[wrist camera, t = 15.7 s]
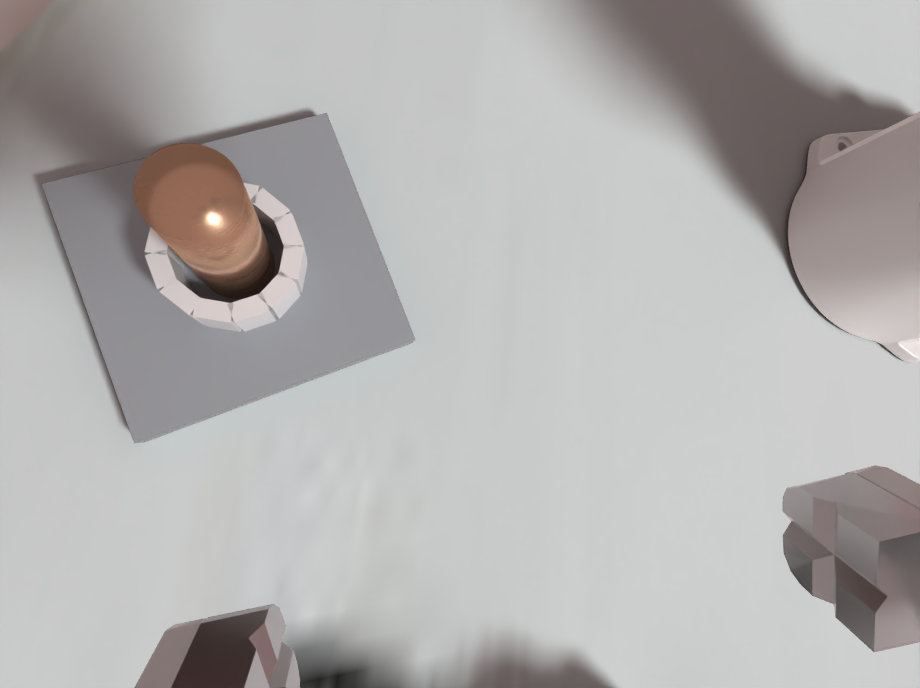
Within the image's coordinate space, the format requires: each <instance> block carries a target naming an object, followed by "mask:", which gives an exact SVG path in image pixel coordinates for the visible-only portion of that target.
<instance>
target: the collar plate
mask: <svg viewBox="0 0 920 688" xmlns="http://www.w3.org/2000/svg"><path fill="white" fill-rule="evenodd" d="M200 145H204V146H208V147H210V148H212V149H215V150H217V151H218V152H220V153H222V154H223V155H224V156H226V157H227V158H228V159H229V160H230V161H231V162H232V163H233V164H234V166H235V167H236V169H237V170H238V172H239V174H240V176H241V178H242V181H243V183H244V186H245V188H246V190H247V193H248V195H249V198H250V200H251V203H252V205H253V207H254V210H255V212H256V215H257V217H258V220H259V222H260V224H261V227H262V229H263V232H264V234H265V237H266V239H267V241H268V244H269V246H270V249H271V251H272V254H273V257H274V262H275V268H274V273H273V277H272V279H271V281H270V282H269V284H268V285H267V286H266V287H265V288H264V289H263V290H262V291H261V292H259V293H258V294H256V295H254V296H251V297H248V298H242V299H233V298H227V297H224V296H221V295H219V294H218V293H216V292H215V291H213V290H212V289H211V288H210V287H209V286H208V285H207V284H206V283H205V282H204V281H203V280H202V279H201V278H200V277H199V276H198V275H197V274H196V273H195V272H194V271H193V270H192V269H191V268H190V267H189V266H188V265H187V264H186V263H185V262H184V261H183V260H182V258H181V257H180V256H179V255H178V254H177V253H176V252H175V251H174V250H173V249H172V248H171V247H170V246H169V245H168V244H167V243H166V242H165V241H164V240H163V239H162V238H161V237H160V236H159V235H158V234H157V233H156V232H155V231H154V230H153V229H152V228H151V227H150V226H149V225H148V224H147V222H146V221H145V220H144V219H143V218H142V216H141V215H140V213H139V212H138V209H137V207H136V205H135V201H134V196H133V185H134V180H135V177H136V174H137V172H138V170H139V168H140V167H141V165H142V164H143V162H144V161H145V160H146V159H147V158H148V157H147V158H143V159H139V160H135V161H131V162H127V163H123V164H119V165H115V166H111V167H107V168H103V169H99V170H95V171H91V172H87V173H83V174H79V175H75V176H71V177H66V178H62V179H58V180H54V181H50V182H46V183H42V187H43V190H44V192H45V195H46V198H47V201H48V204H49V206H50V209H51V212H52V215H53V218H54V220H55V223H56V226H57V229H58V232H59V234H60V237H61V240H62V243H63V246H64V248H65V251H66V254H67V257H68V260H69V262H70V265H71V268H72V271H73V273H74V276H75V279H76V282H77V285H78V287H79V290H80V293H81V296H82V299H83V301H84V304H85V307H86V310H87V313H88V315H89V318H90V321H91V324H92V327H93V329H94V332H95V335H96V338H97V341H98V343H99V346H100V349H101V352H102V355H103V357H104V360H105V363H106V366H107V368H108V371H109V374H110V377H111V380H112V382H113V385H114V388H115V391H116V394H117V396H118V399H119V402H120V405H121V408H122V410H123V413H124V416H125V419H126V422H127V424H128V427H129V430H130V433H131V436H132V438H133V441H134V443H141V442H146V441H149V440H151V439H154V438H157V437H160V436H162V435H165V434H168V433H170V432H173V431H176V430H178V429H181V428H184V427H186V426H189V425H192V424H195V423H197V422H200V421H203V420H205V419H208V418H211V417H213V416H216V415H219V414H222V413H224V412H227V411H230V410H232V409H235V408H238V407H240V406H243V405H246V404H248V403H251V402H254V401H257V400H259V399H262V398H265V397H267V396H270V395H273V394H275V393H278V392H281V391H283V390H286V389H289V388H292V387H294V386H297V385H300V384H302V383H305V382H308V381H310V380H313V379H316V378H318V377H321V376H324V375H327V374H329V373H332V372H335V371H337V370H340V369H343V368H345V367H348V366H351V365H354V364H356V363H359V362H362V361H364V360H367V359H370V358H372V357H375V356H378V355H380V354H383V353H386V352H389V351H391V350H394V349H397V348H399V347H402V346H405V345H407V344H410V343H412V342H413V341H414V340H415V337H414V335H413V332H412V330H411V327H410V325H409V322H408V319H407V317H406V314H405V312H404V309H403V307H402V304H401V302H400V299H399V296H398V294H397V291H396V289H395V286H394V284H393V281H392V279H391V276H390V274H389V271H388V268H387V266H386V263H385V261H384V258H383V256H382V253H381V251H380V248H379V245H378V243H377V240H376V238H375V235H374V233H373V230H372V228H371V225H370V222H369V220H368V217H367V215H366V212H365V210H364V207H363V205H362V202H361V199H360V197H359V194H358V192H357V189H356V187H355V184H354V182H353V179H352V176H351V174H350V171H349V169H348V166H347V164H346V161H345V159H344V156H343V153H342V151H341V148H340V146H339V143H338V141H337V138H336V136H335V133H334V130H333V128H332V125H331V123H330V120H329V118H328V115H327V113H324V114H320V115H316V116H312V117H308V118H304V119H300V120H296V121H292V122H288V123H284V124H280V125H276V126H272V127H268V128H264V129H260V130H256V131H252V132H248V133H244V134H240V135H236V136H232V137H228V138H224V139H220V140H215V141H211V142H207V143H203V144H200Z"/></svg>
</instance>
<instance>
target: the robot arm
mask: <svg viewBox="0 0 920 688" xmlns="http://www.w3.org/2000/svg"><path fill="white" fill-rule="evenodd" d="M788 242H789V250H790V255H791V259H792V263H793V266H794V269H795V272H796V274H797V277H798V279H799V281H800V283H801V285H802V287H803V289H804V291H805V292H806V294H807V296H808V297H809V298H810V300H811V301H812V303H813V304H814V305H815V306H816V308H817V309H818V310H819V311H820V312H821V313H822V314H823V315H824V316H825V317H826V318H827V319H829V320H830V321H831V322H832V323H834V324H835V325H836V326H838V327H839V328H841V329H843V330H844V331H846V332H848V333H850V334H853V335H855V336H858V337H861V338H865V339H869V340H872V341H875V342H878V343H880V344H882V345H883V346H885V347H886V348H887V349H888V350H889V351H891V352H892V353H893V354H894V355H896V356H897V357H898V358H900V359H901V360H903V361H905V362H908V363H912V362H917V361H920V112H918V113H916V114H914V115H912V116H910V117H908V118H906V119H904V120H902V121H900V122H898V123H896V124H894V125H892V126H890V127H888V128H886V129H883V130H871V131H859V132H847V133H835V134H827V135H825V136H822V137H820V138H818V139H816V140H814V141H813V142H812V143H811V145H810V147H809V152H808V160H807V173H806V176H805V179H804V181H803V183H802V185H801V187H800V188H799V190H798V192H797V194H796V196H795V198H794V201H793V204H792V207H791V211H790V216H789V223H788ZM783 512H784V513H785V514H786V515H787V516H788V518H789V519H790V520H791V523H790V524H789V526H788V528H787V529H786V531H785V533H784V534H783V547H784V555H785V558H786V560H787V562H788V565H789V567H790V570H791V572H792V573H793V575H794V576H795V577H796V579H797V580H798V582H799V583H800V584H801V585H802V586H803V587H804V588H805V589H806V590H807V591H808V592H809V593H810V594H811V595H812V596H815V597H817V598H820V599H822V600H825V601H827V602H830V603H832V604H834V610H835V616H836V618H837V619H838V620H839V621H840V622H842V623H843V624H844V625H845V626H846V627H847V628H848V629H849V630H850V631H851V632H852V633H854V634H855V635H856V636H857V637H858V638H859V639H860V640H861V641H862V642H863V643H864V644H866V645H867V646H868V647H869V648H870V649H871V650H872V651H873V652H877V651H882V650H886V649H891V648H895V647H900V646H904V645H909V644H913V643H918V642H920V484H918V483H916V482H914V481H912V480H910V479H908V478H906V477H904V476H902V475H901V474H899V473H897V472H895V471H893V470H891V469H889V468H886V467H880V466H871V467H868V468H864V469H860V470H856V471H852V472H848V473H845V474H844V475H841V476H837V477H832V478H828V479H824V480H819V481H815V482H811V483H806V484H802V485H798V486H793V487H789V488H787V489H786V491H785V493H784V496H783ZM285 627H286V625H285V622H284V619H283V616H282V614H281V611H280V608H279V607H278V606H276V605H274V604H271V605H266V606H261V607H257V608H252V609H247V610H242V611H237V612H232V613H227V614H222V615H217V616H212V617H208V618H207V619H199V620H194V621H190V622H185V623H181V624H176V625H173V626H172V627H170V628H169V629H167V630H166V631H165V632H164V634H163V636H162V638H161V640H160V641H159V643H158V645H157V647H156V649H155V651H154V653H153V654H152V656H151V658H150V660H149V662H148V664H147V665H146V667H145V669H144V671H143V673H142V675H141V677H140V678H139V680H138V682H137V684H136V686H135V688H300V678H299V672H298V665H297V661H296V658H295V654H294V651H293V649H291V648H290V647H288V646H287V645H285V644H284V643H283V642H282V639H283V635H284V631H285Z"/></svg>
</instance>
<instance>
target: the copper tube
mask: <svg viewBox="0 0 920 688" xmlns="http://www.w3.org/2000/svg"><path fill="white" fill-rule="evenodd" d="M133 196H134V201H135V205H136V207H137V209H138V212H139V213H140V215H141V216H142V218H143V219H144V220H145V221H146V222H147V224H148V225H149V226H150V227H151V228H152V229H153V230H154V231H155V232H156V233H157V234H158V235H159V236H160V237H161V238H162V239H163V240H164V241H165V242H166V243H167V244H168V245H169V246H170V247H171V248H172V249H173V250H174V251H175V252H176V253H177V254H178V255H179V256H180V257H181V258H182V260H183V261H184V262H185V263H186V264H187V265H188V266H189V267H190V268H191V269H192V270H193V271H194V272H195V273H196V274H197V275H198V276H199V277H200V278H201V279H202V280H203V281H204V282H205V283H206V284H207V285H208V286H209V287H210V288H211V289H212V290H213V291H215V292H216V293H218V294H219V295H221V296H224V297H227V298H233V299H242V298H248V297H251V296H254V295H256V294H258V293H259V292H261V291H262V290H263V289H264V288H265V287H266V286H267V285H268V284H269V282H270V281H271V279H272V277H273V273H274V268H275V262H274V257H273V254H272V251H271V249H270V246H269V244H268V241H267V239H266V237H265V234H264V232H263V229H262V227H261V224H260V222H259V220H258V217H257V215H256V212H255V210H254V207H253V205H252V203H251V200H250V198H249V195H248V193H247V190H246V188H245V186H244V183H243V181H242V178H241V176H240V174H239V172H238V170H237V169H236V167H235V166H234V164H233V163H232V162H231V161H230V160H229V159H228V158H227V157H226V156H224V155H223V154H222V153H220V152H218V151H217V150H215V149H212V148H210V147H208V146H204V145H200V144H194V143H181V144H174V145H170V146H167V147H164V148H162V149H160V150H158V151H156V152H155V153H153V154H152V155H151V156H149V157H148V158H147V159H146V160H145V161H144V162H143V164H142V165H141V167H140V168H139V170H138V172H137V174H136V177H135V180H134V185H133Z"/></svg>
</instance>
